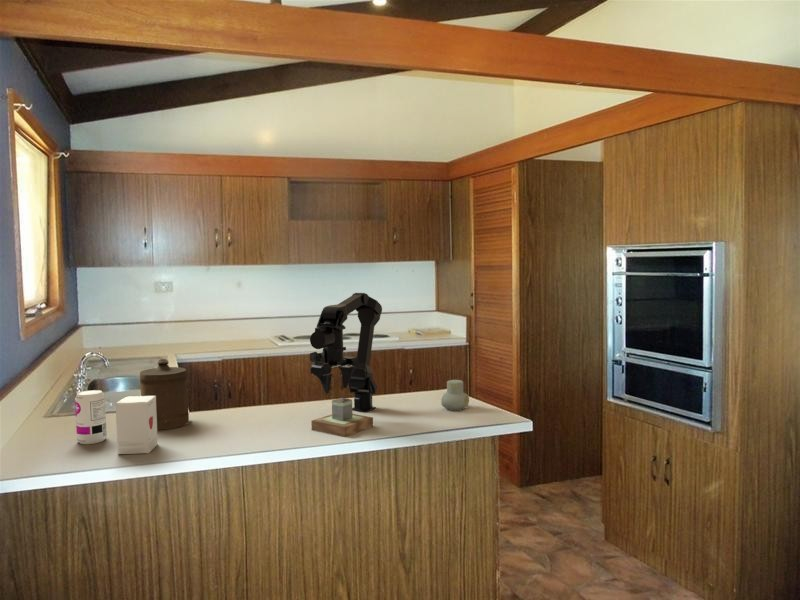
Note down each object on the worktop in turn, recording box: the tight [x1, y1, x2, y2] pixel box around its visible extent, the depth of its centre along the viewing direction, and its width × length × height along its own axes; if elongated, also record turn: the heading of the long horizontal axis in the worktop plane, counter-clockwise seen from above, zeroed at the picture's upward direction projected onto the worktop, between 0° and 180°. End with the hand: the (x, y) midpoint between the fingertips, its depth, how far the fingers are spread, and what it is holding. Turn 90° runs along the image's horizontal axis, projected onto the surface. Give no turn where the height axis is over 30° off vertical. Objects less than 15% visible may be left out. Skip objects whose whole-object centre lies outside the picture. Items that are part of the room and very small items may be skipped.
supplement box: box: [115, 395, 159, 455], centre depth 185 cm, size 9×9×15 cm
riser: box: [311, 413, 374, 438], centre depth 205 cm, size 14×14×3 cm
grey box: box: [331, 397, 353, 421], centre depth 205 cm, size 5×5×6 cm
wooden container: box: [139, 358, 190, 431], centre depth 212 cm, size 15×15×22 cm
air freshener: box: [440, 379, 470, 411], centre depth 229 cm, size 11×8×10 cm
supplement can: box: [74, 389, 108, 445], centre depth 194 cm, size 8×8×15 cm
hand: (336, 390), depth 212 cm, fingers open, 9 cm apart
